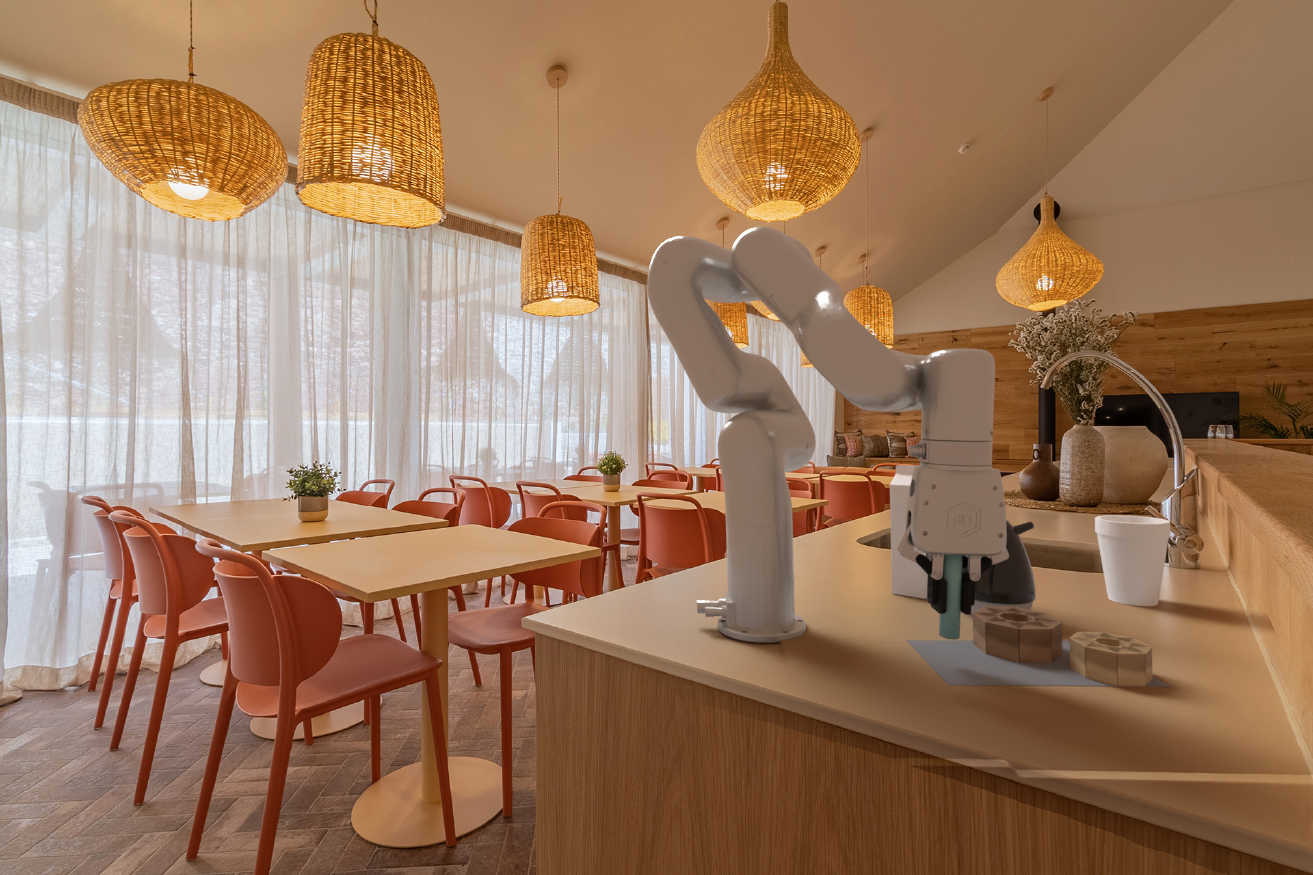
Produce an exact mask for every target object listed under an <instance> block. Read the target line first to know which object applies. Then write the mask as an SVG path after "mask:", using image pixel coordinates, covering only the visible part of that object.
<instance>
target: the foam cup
mask: <svg viewBox="0 0 1313 875" xmlns="http://www.w3.org/2000/svg"><path fill="white" fill-rule="evenodd" d="M1094 532H1095V533H1096V536H1097V543H1098V548H1099V554H1100V558H1101V565H1102V566H1101V567H1102V572H1103V576H1104V582H1105V587H1106V588H1105V589H1106V594H1107V598H1108V599H1109V600H1110V601H1111V602H1112V601H1113V602H1114V603H1115V602H1116V603H1118V604H1122V605H1123V604H1124V605H1128V606H1134V607H1135V606H1136V607H1155V606H1158V605H1159V600H1160V595H1161V589H1162V583H1163V577H1164V568H1165V563H1166V556H1167V551H1168V550H1167V549H1168V545H1169V544H1168V542H1169V539H1170V537H1171V521H1170V520H1168V519H1165V518H1157V517H1154V516H1153V517H1151V516H1142V515H1140V516H1139V515H1128V514H1127V515H1124V514H1123V515H1122V514H1116V515H1115V514H1114V515H1113V514H1109V515H1108V514H1106V515H1098V516H1096V517H1094Z"/></svg>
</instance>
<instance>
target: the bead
mask: <svg viewBox="0 0 1313 875" xmlns="http://www.w3.org/2000/svg"><path fill="white" fill-rule="evenodd" d="M972 640H973V644H974V645H975V646H977V647H978V648H979V649H980V650H982V651H983V652H984V653H985V654H987V655H991V656H995V657H999V658H1003V659H1007V660H1011V661H1015V662H1027V663H1052V662H1054V661H1055V660H1056V659H1057V658H1059V657H1060V656H1061V655H1062V641H1063V622H1062V621H1061V620H1059V619H1057V618H1056V617H1054V616H1052V615H1050V614H1048V613H1047V612H1044V611H1043V612H1042V611H1039V610H1033V609H1031V610H1028V609H1023V608H1017V607H983V608H981V609H979V610H977V611H975V612H973V615H972Z"/></svg>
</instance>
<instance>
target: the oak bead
mask: <svg viewBox="0 0 1313 875" xmlns="http://www.w3.org/2000/svg"><path fill="white" fill-rule="evenodd" d="M1069 641H1070V668H1071V669H1073V670H1074V671H1076V672H1077V673H1079V674H1080V675H1082V676H1083V677H1085V678H1087V679H1091V680H1095V681H1099V682H1103V683H1107V684H1111V685H1115V686H1114V687H1117V686H1147V685H1148V684H1149V682H1150V681H1151V680H1152V679H1153V676H1154V675H1153V646H1151V645H1149V644H1147V643H1145V642H1144V641H1141V640H1139V639H1137V638H1135V637H1132V636H1126V635H1121V634H1116V633H1112V632H1107V631H1106V632H1105V631H1076V633H1074V634H1073V635H1071V636H1070V637H1069Z"/></svg>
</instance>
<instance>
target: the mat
mask: <svg viewBox="0 0 1313 875" xmlns="http://www.w3.org/2000/svg"><path fill="white" fill-rule="evenodd" d="M906 642H907V643H908V644H909V645H910V647H912V648H913V649H914V650H915V651H916V653H917V654H919V655H920V657H921V658H922V659H923V660H924V661H925V662H926V663H927V664H928V665H929V666H930V667H931V668H932V669H933V671H935V672H936V674H938V676H939V677H940V678H941V679H942V680H943V681H944V682H945V683H946V685H948V686H993V687H994V686H999V687H1000V686H1001V687H1002V686H1006V687H1007V686H1008V687H1009V686H1011V687H1014V686H1016V687H1019V686H1020V687H1025V686H1026V687H1031V686H1032V687H1119V688H1121V687H1122V688H1123V687H1124V688H1125V687H1126V688H1127V687H1130V688H1131V687H1134V688H1135V687H1136V688H1137V687H1141V688H1142V687H1144V688H1145V687H1146V688H1149V687H1150V688H1155V687H1156V688H1171V687H1172V685H1170V684H1168V683H1166V682H1165V681H1162V680H1161V679H1159V678H1157V677H1155V676H1154V675H1152V676H1153V679H1152V680H1151V681H1150V682H1149V684H1148V685H1147V686H1115V685H1111V684H1107V683H1103V682H1099V681H1095V680H1091V679H1087V678H1085V677H1083V676H1082V675H1080V674H1079V673H1077V672H1076V671H1074V670H1073V669H1071V668H1070V640H1062V655H1061V656H1060V657H1059V658H1057V659H1056V660H1055V661H1054V662H1052V663H1027V662H1015V661H1011V660H1007V659H1003V658H999V657H995V656H991V655H987V654H985V653H984V652H983V651H982V650H980V649H979V648H978V647H977V646H975V645H974V644H973V639H971V640H959V639H947V640H946V639H945V640H943V639H942V640H932V639H931V640H925V639H921V640H917V639H913V640H911V639H910V640H909V639H908V640H906Z"/></svg>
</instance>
